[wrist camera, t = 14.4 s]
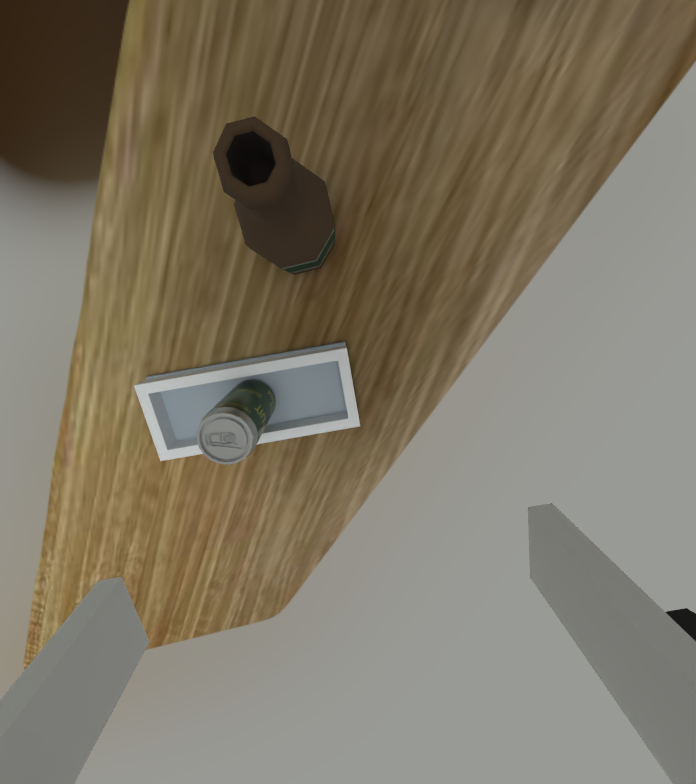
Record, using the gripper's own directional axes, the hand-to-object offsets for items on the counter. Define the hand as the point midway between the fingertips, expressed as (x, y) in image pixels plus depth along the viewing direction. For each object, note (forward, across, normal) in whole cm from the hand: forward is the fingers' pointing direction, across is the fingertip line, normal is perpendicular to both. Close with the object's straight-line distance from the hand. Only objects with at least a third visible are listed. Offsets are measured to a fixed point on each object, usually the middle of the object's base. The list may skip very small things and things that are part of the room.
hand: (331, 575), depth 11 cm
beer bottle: (+33, -1, +15) cm, 36 cm away
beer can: (+32, -10, -2) cm, 34 cm away
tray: (+33, -10, -2) cm, 34 cm away
